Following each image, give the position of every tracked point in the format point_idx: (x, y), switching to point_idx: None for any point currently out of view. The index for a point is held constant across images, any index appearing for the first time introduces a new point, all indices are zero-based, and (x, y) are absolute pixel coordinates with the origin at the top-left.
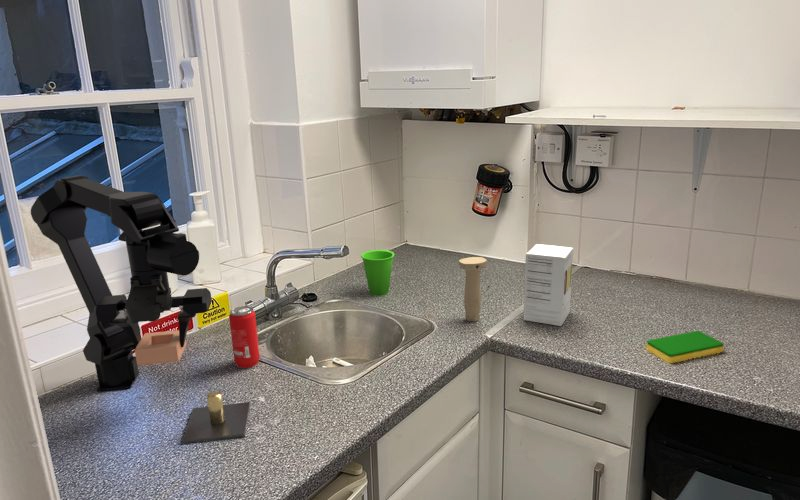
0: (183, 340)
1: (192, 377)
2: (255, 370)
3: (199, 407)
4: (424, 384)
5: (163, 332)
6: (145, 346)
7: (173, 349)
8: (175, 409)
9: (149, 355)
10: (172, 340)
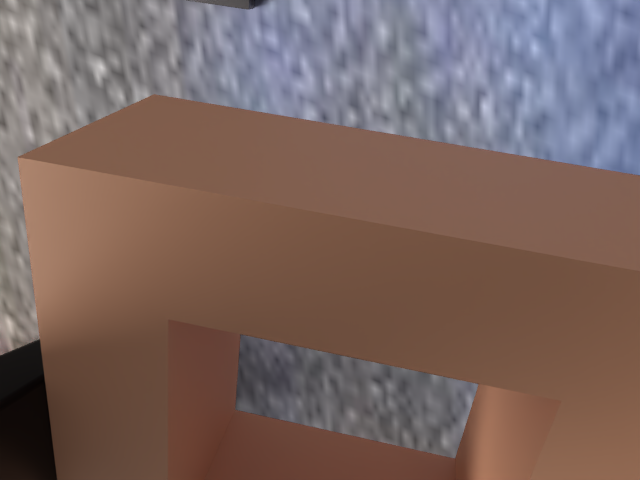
0: (8, 356)
1: (293, 372)
2: (4, 318)
3: (212, 2)
4: None
5: None
6: (569, 363)
7: (104, 148)
8: (362, 69)
9: (503, 197)
10: (140, 391)
